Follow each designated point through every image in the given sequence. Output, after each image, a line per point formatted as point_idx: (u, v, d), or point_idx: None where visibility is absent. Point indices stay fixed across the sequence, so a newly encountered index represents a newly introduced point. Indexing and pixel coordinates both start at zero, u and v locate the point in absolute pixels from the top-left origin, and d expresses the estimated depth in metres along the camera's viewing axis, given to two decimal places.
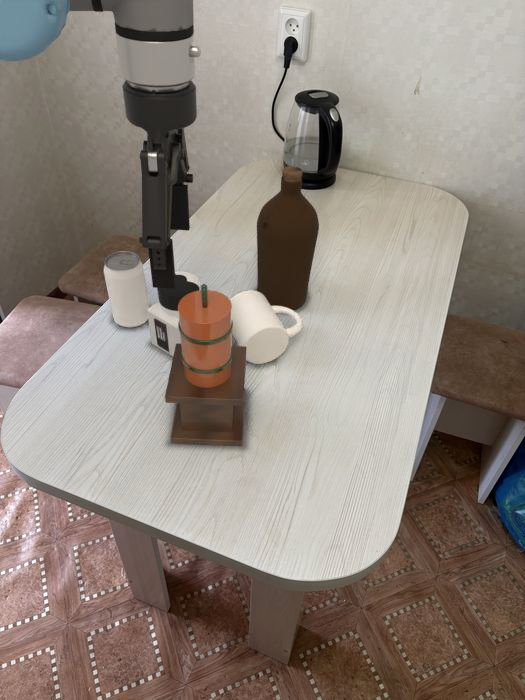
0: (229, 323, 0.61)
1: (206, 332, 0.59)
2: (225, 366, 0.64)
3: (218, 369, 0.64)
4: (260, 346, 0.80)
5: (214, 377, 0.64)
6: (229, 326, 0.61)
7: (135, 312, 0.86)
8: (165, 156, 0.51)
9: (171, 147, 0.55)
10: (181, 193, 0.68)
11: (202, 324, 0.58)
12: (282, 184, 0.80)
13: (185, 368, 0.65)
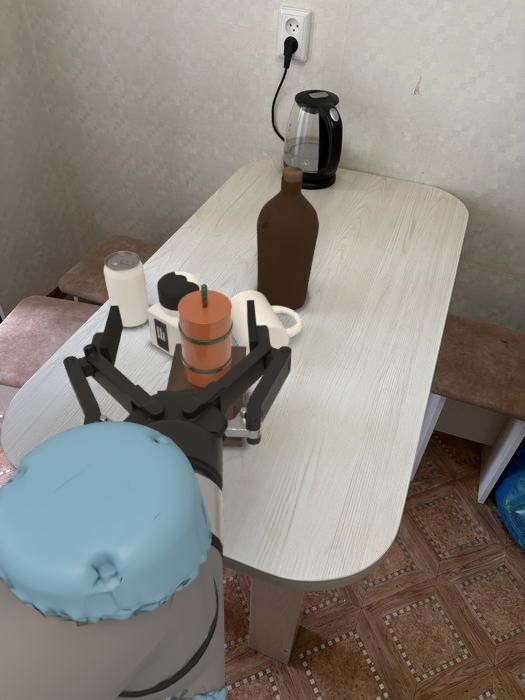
0: (229, 323, 0.61)
1: (206, 332, 0.59)
2: (225, 366, 0.64)
3: (218, 369, 0.64)
4: None
5: (214, 377, 0.64)
6: (229, 326, 0.61)
7: (135, 312, 0.86)
8: None
9: None
10: None
11: (202, 324, 0.58)
12: (282, 184, 0.80)
13: (185, 368, 0.65)
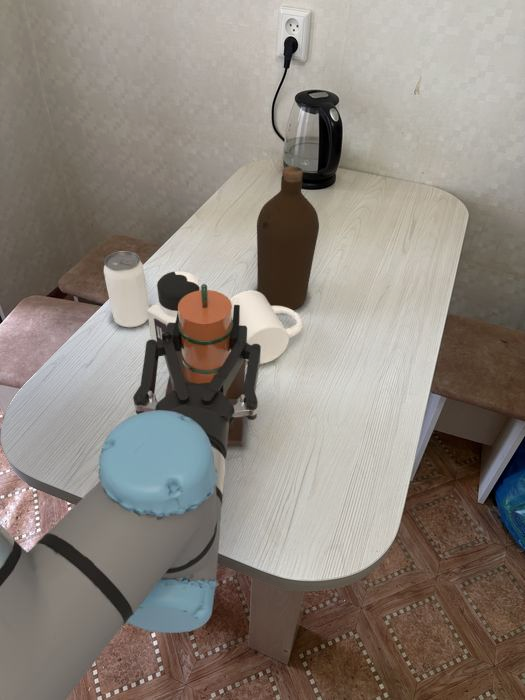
0: (229, 323, 0.61)
1: (206, 332, 0.59)
2: None
3: (218, 369, 0.64)
4: None
5: None
6: (229, 326, 0.61)
7: (135, 312, 0.86)
8: None
9: None
10: None
11: (202, 324, 0.58)
12: (282, 184, 0.80)
13: (185, 368, 0.65)
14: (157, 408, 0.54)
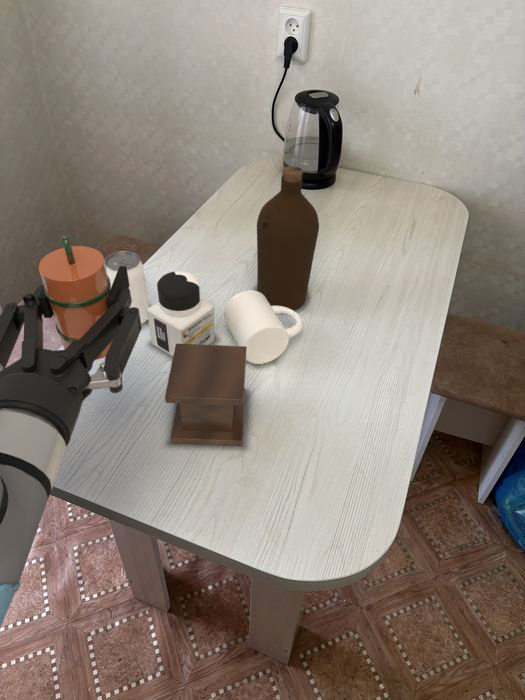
0: (101, 283, 0.52)
1: (70, 292, 0.50)
2: None
3: None
4: (260, 346, 0.80)
5: None
6: (102, 287, 0.52)
7: None
8: None
9: None
10: None
11: (63, 282, 0.49)
12: (282, 184, 0.80)
13: (61, 338, 0.56)
14: None
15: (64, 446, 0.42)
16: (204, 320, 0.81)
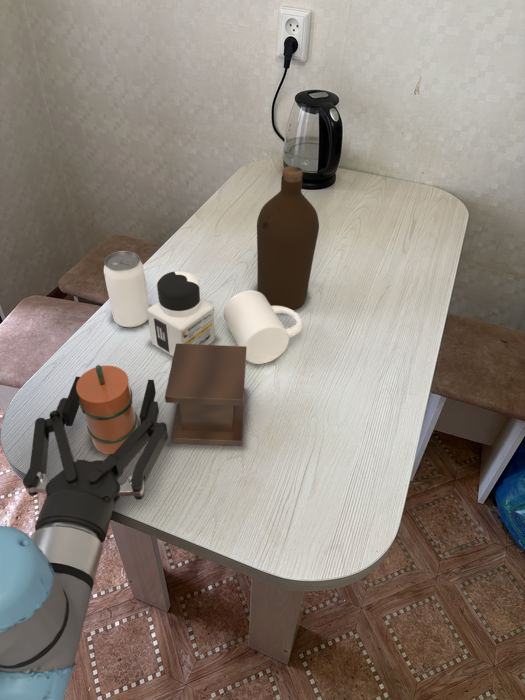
0: (126, 399, 0.64)
1: (102, 409, 0.63)
2: (127, 435, 0.68)
3: (120, 439, 0.67)
4: (260, 346, 0.80)
5: (117, 446, 0.68)
6: (126, 401, 0.65)
7: (135, 312, 0.86)
8: None
9: None
10: None
11: (96, 403, 0.62)
12: (282, 184, 0.80)
13: (91, 436, 0.69)
14: (47, 489, 0.58)
15: (102, 548, 0.54)
16: (204, 320, 0.81)
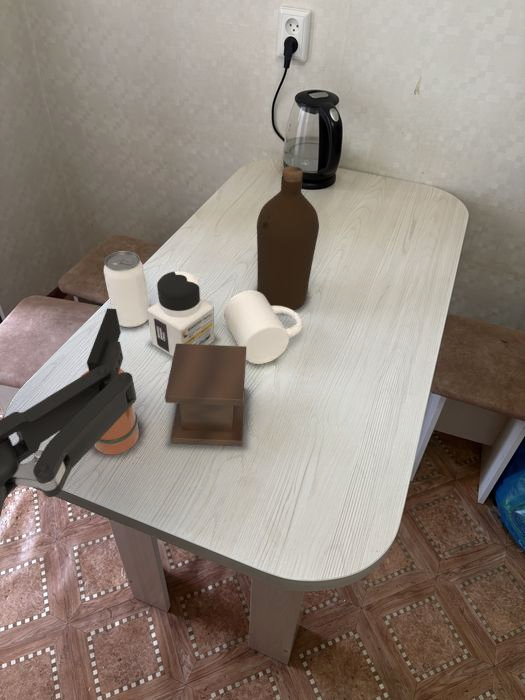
0: None
1: None
2: (127, 435, 0.68)
3: (120, 439, 0.67)
4: (260, 346, 0.80)
5: (117, 446, 0.68)
6: None
7: (135, 312, 0.86)
8: None
9: None
10: None
11: None
12: (282, 184, 0.80)
13: None
14: None
15: None
16: (204, 320, 0.81)
